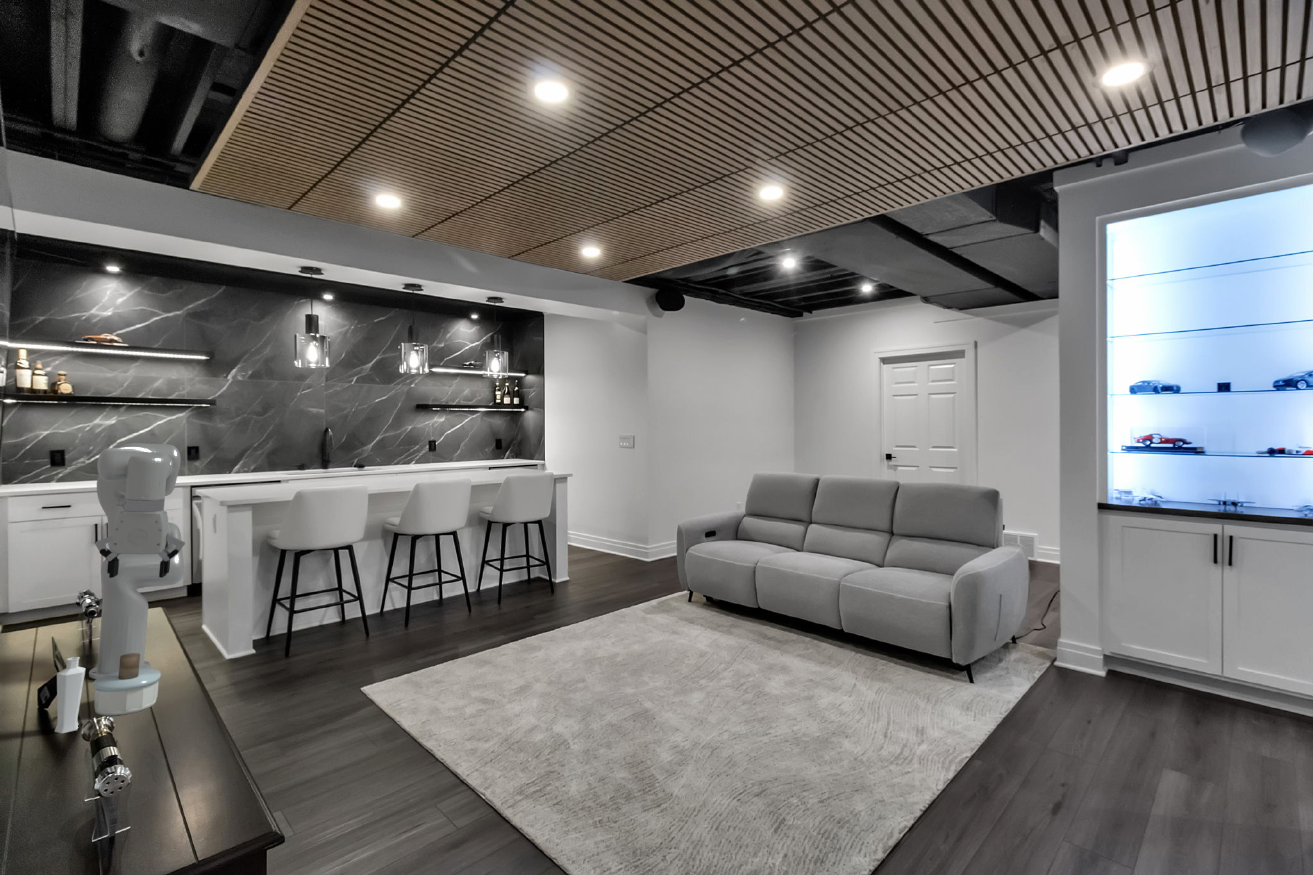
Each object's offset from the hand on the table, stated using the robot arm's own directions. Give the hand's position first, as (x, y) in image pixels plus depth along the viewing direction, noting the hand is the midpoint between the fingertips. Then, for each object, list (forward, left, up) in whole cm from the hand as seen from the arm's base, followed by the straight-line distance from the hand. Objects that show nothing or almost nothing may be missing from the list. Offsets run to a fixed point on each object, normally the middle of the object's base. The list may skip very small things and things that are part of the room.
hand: (138, 576), depth 153 cm
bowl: (+5, +1, -29) cm, 30 cm away
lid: (+5, +1, -24) cm, 24 cm away
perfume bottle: (+16, -6, -30) cm, 34 cm away
